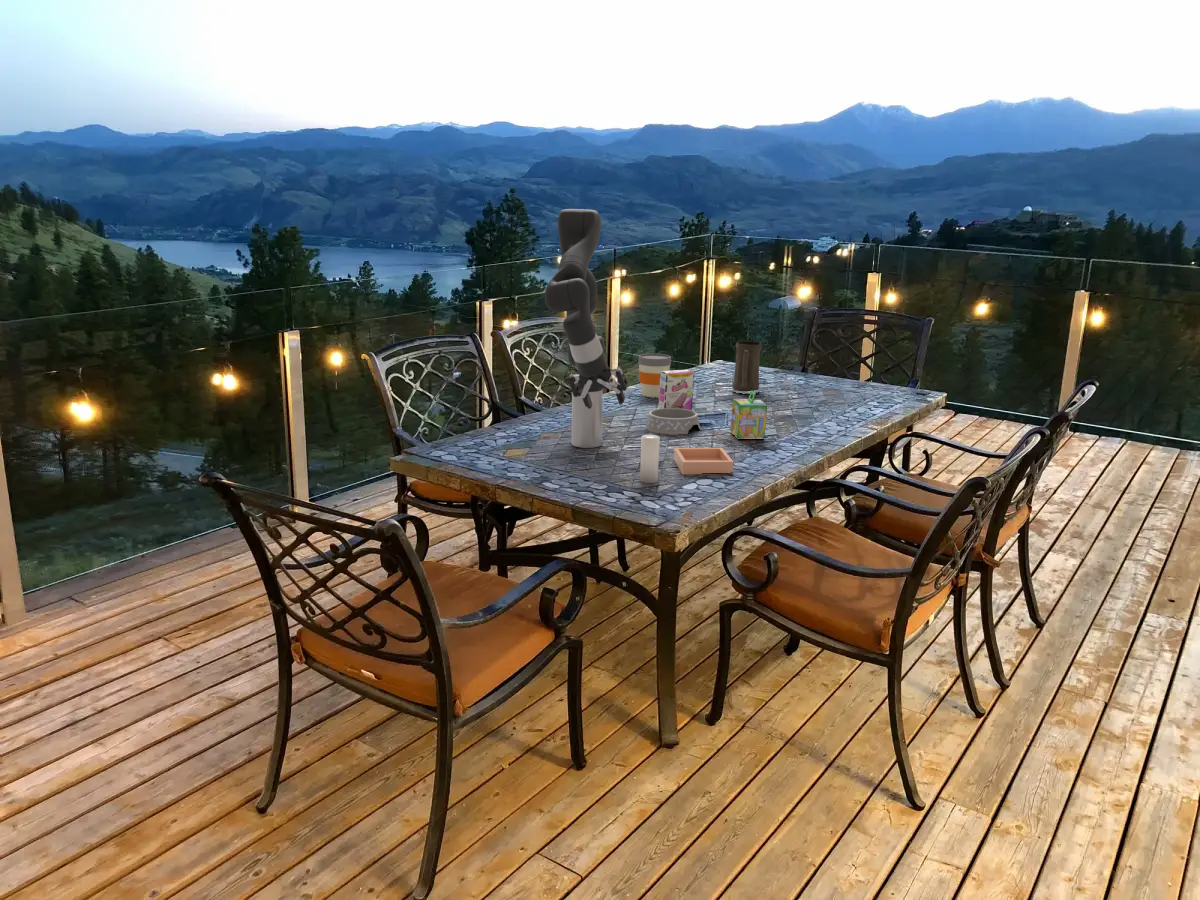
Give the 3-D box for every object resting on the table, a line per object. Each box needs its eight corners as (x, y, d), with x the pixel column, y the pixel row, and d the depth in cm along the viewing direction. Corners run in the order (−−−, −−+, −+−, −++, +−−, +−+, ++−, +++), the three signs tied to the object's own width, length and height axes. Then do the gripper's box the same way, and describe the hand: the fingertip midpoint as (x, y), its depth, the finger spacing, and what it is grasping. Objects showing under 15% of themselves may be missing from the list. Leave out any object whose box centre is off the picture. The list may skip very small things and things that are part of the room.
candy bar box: (664, 421, 299) (666, 373, 294) (657, 417, 303) (659, 370, 298) (692, 418, 303) (695, 371, 299) (685, 415, 308) (687, 368, 303)
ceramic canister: (638, 477, 237) (640, 434, 234) (656, 477, 238) (658, 434, 235) (641, 483, 233) (642, 439, 229) (659, 483, 233) (660, 439, 230)
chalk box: (729, 433, 285) (732, 388, 281) (757, 433, 286) (760, 388, 282) (736, 440, 276) (739, 394, 272) (765, 440, 277) (768, 394, 273)
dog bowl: (635, 429, 289) (635, 413, 287) (667, 419, 302) (668, 404, 301) (677, 438, 278) (678, 422, 277) (709, 428, 292) (710, 412, 290)
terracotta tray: (673, 459, 254) (674, 448, 253) (721, 459, 256) (722, 447, 255) (682, 474, 241) (683, 462, 240) (732, 473, 242) (733, 461, 241)
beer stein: (731, 388, 353) (734, 339, 346) (758, 389, 352) (761, 339, 345) (732, 398, 339) (735, 348, 332) (760, 400, 338) (764, 348, 331)
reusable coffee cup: (637, 398, 332) (639, 358, 328) (636, 391, 344) (637, 353, 340) (671, 398, 332) (672, 359, 328) (668, 391, 344) (670, 353, 340)
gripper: (617, 340, 218) (634, 392, 227) (564, 348, 222) (583, 399, 232) (612, 357, 212) (630, 410, 222) (557, 365, 217) (577, 417, 226)
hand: (605, 404), depth 227 cm, fingers open, 8 cm apart
